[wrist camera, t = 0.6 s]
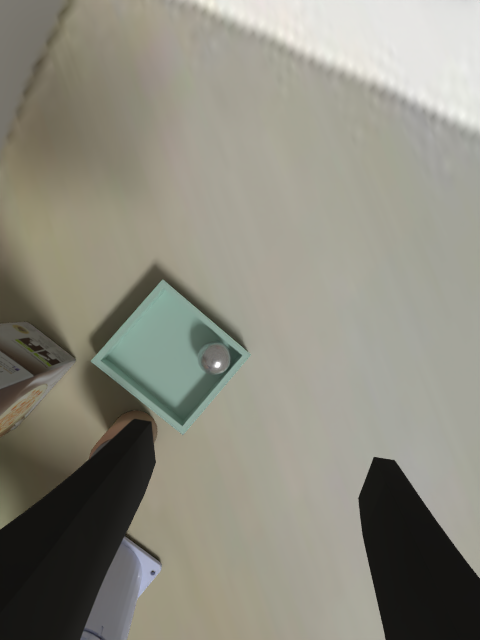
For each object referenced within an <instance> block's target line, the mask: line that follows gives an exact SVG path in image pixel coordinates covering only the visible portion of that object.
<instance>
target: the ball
mask: <svg viewBox="0 0 480 640" xmlns="http://www.w3.org/2000/svg"><path fill="white" fill-rule="evenodd" d="M230 363H231V353H230V350H229V349H228V347H227V346H226V345H224V344H223V343H221V342H218V341H212V342H208V343H206V344H205V345H203V346H202V347H201V349H200V350H199V353H198V364H199V366H200V368H201V369H202V370H203V371H204V372H206V373H207V374H211V375H218V374H221V373H223V372H224V371H226V370H227V369H228V367H229V365H230Z"/></svg>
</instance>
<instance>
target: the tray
mask: <svg viewBox="0 0 480 640" xmlns="http://www.w3.org/2000/svg"><path fill="white" fill-rule="evenodd" d="M212 341H218V342H221V343H223V344H224V345H226V346H227V347H228V349H229V350H230V353H231V363H230V365H229V367H228V369H227V370H226V371H224V372H223V373H221V374H218V375H211V374H207V373H206V372H204V371H203V370H202V369H201V368H200V366H199V364H198V353H199V350H200V349H201V347H202V346H203V345H205V344H206V343H208V342H212ZM250 355H251V354H250V353H249V352H248V351H247V350H245V349H244V348H243V347H242V346H241V345H240V344H238V343H237V342H236V341H235V340H234V339H233V338H231V337H230V336H229V335H228V334H227V333H226V332H224V331H223V330H222V329H221V328H220V327H218V326H217V325H216V324H215V323H214V322H213V321H211V320H210V319H209V318H208V317H207V316H206V315H204V314H203V313H202V312H201V311H200V310H199V309H197V308H196V307H195V306H194V305H193V304H191V303H190V302H189V301H188V300H187V299H186V298H184V297H183V296H182V295H181V294H180V293H179V292H177V291H176V290H175V289H174V288H173V287H172V286H170V285H169V284H168V283H167V282H166V281H164V280H163V279H162V281H161V282H160V283H159V284H158V285H157V286H156V287H155V289H154V290H153V291H152V292H151V293H150V294H149V295H148V297H147V298H146V299H145V300H144V301H143V302H142V303H141V305H140V306H139V307H138V308H137V309H136V310H135V311H134V313H133V314H132V315H131V316H130V317H129V318H128V319H127V320H126V322H125V323H124V324H123V325H122V326H121V327H120V328H119V330H118V331H117V332H116V333H115V334H114V335H113V336H112V338H111V339H110V340H109V341H108V342H107V343H106V344H105V346H104V347H103V348H102V349H101V350H100V351H99V352H98V354H97V355H96V356H95V357H94V358H93V359H92V360H91V362H92V363H93V364H95V365H96V366H97V367H98V368H100V369H101V370H102V371H103V372H105V373H106V374H107V375H108V376H110V377H111V378H112V379H113V380H115V381H116V382H117V383H118V384H120V385H121V386H122V387H123V388H125V389H126V390H127V391H128V392H130V393H131V394H132V395H133V396H135V397H136V398H137V399H139V400H140V401H141V402H142V403H144V404H145V405H146V406H147V407H149V408H150V409H151V410H152V411H154V412H155V413H156V414H157V415H159V416H160V417H161V418H162V419H164V420H165V421H166V422H167V423H169V424H170V425H171V426H172V427H174V428H175V429H176V430H177V431H179V432H180V433H181V434H182V435H183V434H184V433H185V432H186V431H187V430H188V429H189V427H190V426H191V425H192V424H193V423H194V421H195V420H196V419H197V418H198V417H199V416H200V414H201V413H202V412H203V411H204V410H205V409H206V407H207V406H208V405H209V404H210V403H211V401H212V400H213V399H214V398H215V397H216V396H217V394H218V393H219V392H220V391H221V390H222V388H223V387H224V386H225V385H226V384H227V383H228V381H229V380H230V379H231V378H232V377H233V375H234V374H235V373H236V372H237V371H238V370H239V368H240V367H241V366H242V365H243V364H244V362H245V361H246V360H247V359H248V358H249V357H250Z"/></svg>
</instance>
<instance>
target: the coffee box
mask: <svg viewBox="0 0 480 640" xmlns="http://www.w3.org/2000/svg"><path fill="white" fill-rule="evenodd" d="M75 361H76V359H75V358H74V357H72V356H71V355H70V354H69V353H67V352H66V351H65V350H64V349H62V348H61V347H60V346H58V345H57V344H56V343H55V342H53V341H52V340H51V339H50V338H48V337H47V336H46V335H44V334H43V333H42V332H40V331H39V330H38V329H36V328H35V327H34V326H33V325H31V324H30V323H28V322H14V323H0V437H1V436H3V435H5V434H6V433H8V432H10V431H11V430H13V429H15V428H16V427H17V426H18V425H19V424H20V423H21V422H22V421H23V420H24V419H25V418H26V417H27V415H28V414H29V413H30V412H31V411H32V410H33V409H34V408H35V407H36V405H37V404H38V403H39V402H40V401H41V400H42V399H43V398H44V397H45V395H46V394H47V393H48V392H49V391H50V390H51V389H52V388H53V386H54V385H55V384H56V383H57V382H58V381H59V380H60V379H61V378H62V376H63V375H64V374H65V373H66V372H67V371H68V370H69V369H70V367H71V366H72V365H73V364H74V363H75Z"/></svg>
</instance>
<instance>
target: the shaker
mask: <svg viewBox="0 0 480 640" xmlns="http://www.w3.org/2000/svg"><path fill="white" fill-rule="evenodd" d="M133 419H140V420H146V421H152V431H153V441H154V443H155V440H156V438H157V426H156V423H155V421H154V419H153V418H152V417H151V416H150V415H148V414H147V413H145V412H142V411H137V410H135V411H129V412H126V413H124V414H122V415H121V416H120V417H119V418H118V419H117V420H116V421H115V422H114V424H113V425H112V426H111V427H110V428H109V429H108V431H107V432H106V433H105V434H104V435H103V436H102V438H101V439H100V440H99V441H98V442H97V443H96V445H95V446H94V447H93V449H92V451H91V453H90V457H89V459H90V458H91V457H92V456H94V455H95V454H96V453H97V452H98V451H99V450H100V449H101V448H102V447H104V446H105V445H106V444H107V443H108V442H109V441H110V440H111V439H112V438H113V437H114V436H115V435H117V434H118V433H119V432H120V431H121V430H122V429H123V428H124V427H125V426H126V425H127V424H128V423H129V422H130V421H132V420H133Z"/></svg>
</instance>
